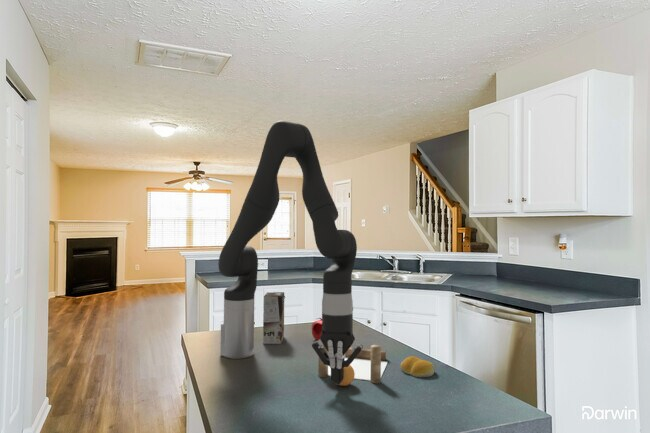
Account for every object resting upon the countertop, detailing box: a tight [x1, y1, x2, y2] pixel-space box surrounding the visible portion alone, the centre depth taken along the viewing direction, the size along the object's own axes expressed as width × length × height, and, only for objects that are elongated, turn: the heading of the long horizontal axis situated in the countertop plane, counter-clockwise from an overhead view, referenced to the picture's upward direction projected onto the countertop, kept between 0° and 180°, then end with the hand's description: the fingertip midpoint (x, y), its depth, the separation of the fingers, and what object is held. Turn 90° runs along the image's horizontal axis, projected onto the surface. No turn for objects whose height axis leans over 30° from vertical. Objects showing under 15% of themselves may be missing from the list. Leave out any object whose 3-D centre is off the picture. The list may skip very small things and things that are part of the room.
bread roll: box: [400, 355, 435, 378], centre depth 115 cm, size 8×9×4 cm
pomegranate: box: [310, 317, 322, 341], centre depth 146 cm, size 10×10×9 cm
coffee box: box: [262, 291, 285, 345], centre depth 145 cm, size 9×6×16 cm
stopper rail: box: [345, 346, 387, 362], centre depth 127 cm, size 14×2×2 cm, turn 74°
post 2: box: [370, 344, 382, 384], centre depth 108 cm, size 3×3×9 cm
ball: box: [338, 365, 355, 387], centre depth 105 cm, size 6×6×6 cm
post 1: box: [317, 345, 329, 378], centre depth 112 cm, size 3×3×9 cm
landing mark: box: [327, 357, 388, 382], centre depth 117 cm, size 16×16×1 cm
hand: (337, 382), depth 102 cm, fingers closed
